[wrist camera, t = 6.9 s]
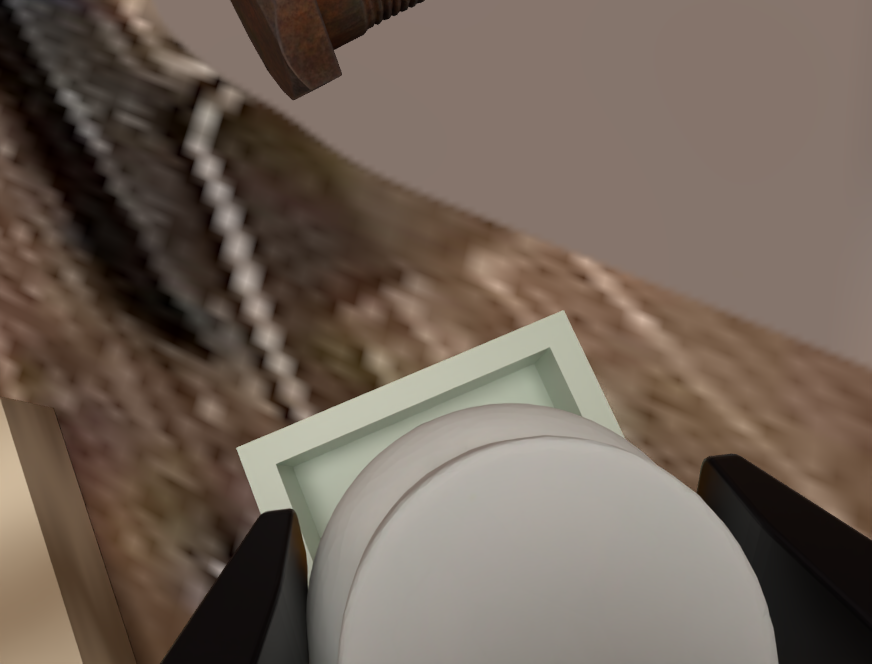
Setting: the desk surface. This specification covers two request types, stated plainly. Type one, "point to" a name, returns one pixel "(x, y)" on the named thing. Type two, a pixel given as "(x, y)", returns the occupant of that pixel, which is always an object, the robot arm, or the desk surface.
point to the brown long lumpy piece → (309, 35)
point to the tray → (417, 417)
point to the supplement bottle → (529, 554)
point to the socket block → (50, 552)
